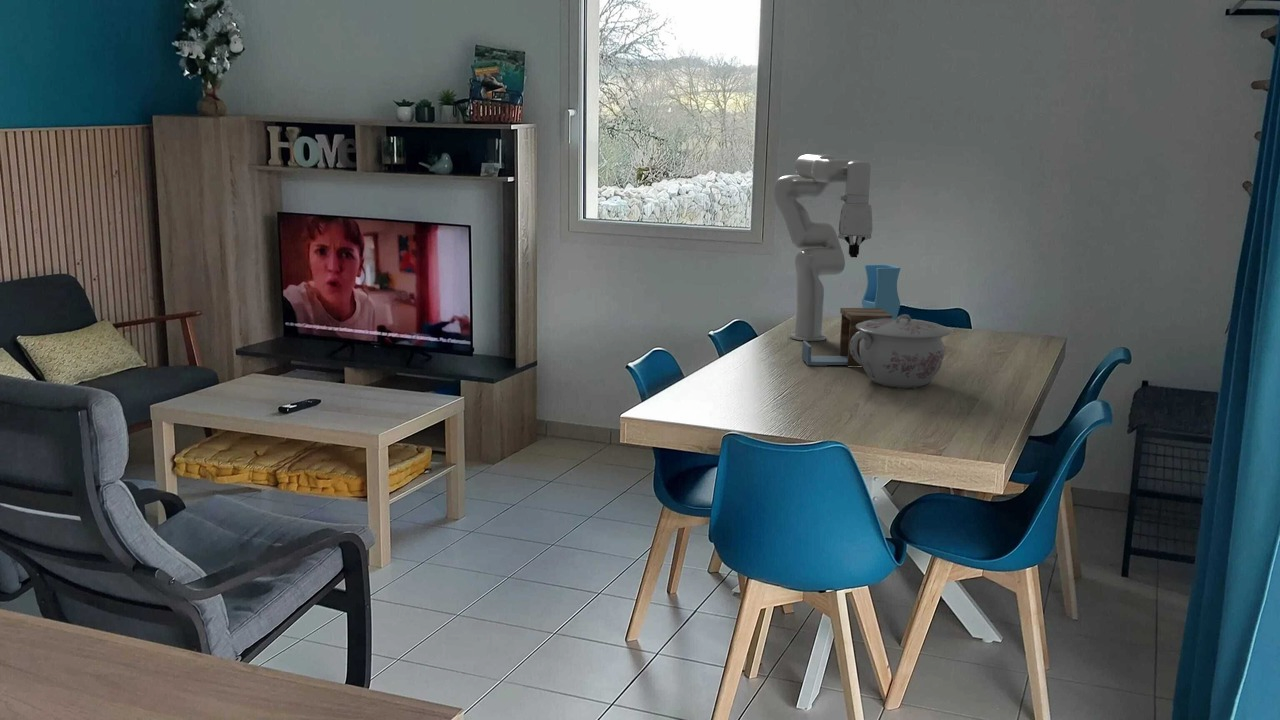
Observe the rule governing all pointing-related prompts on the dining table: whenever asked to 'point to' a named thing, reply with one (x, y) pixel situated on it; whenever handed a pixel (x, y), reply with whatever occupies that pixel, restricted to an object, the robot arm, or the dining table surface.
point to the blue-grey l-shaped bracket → (821, 357)
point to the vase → (882, 288)
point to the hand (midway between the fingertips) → (853, 256)
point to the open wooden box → (849, 327)
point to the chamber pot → (899, 350)
